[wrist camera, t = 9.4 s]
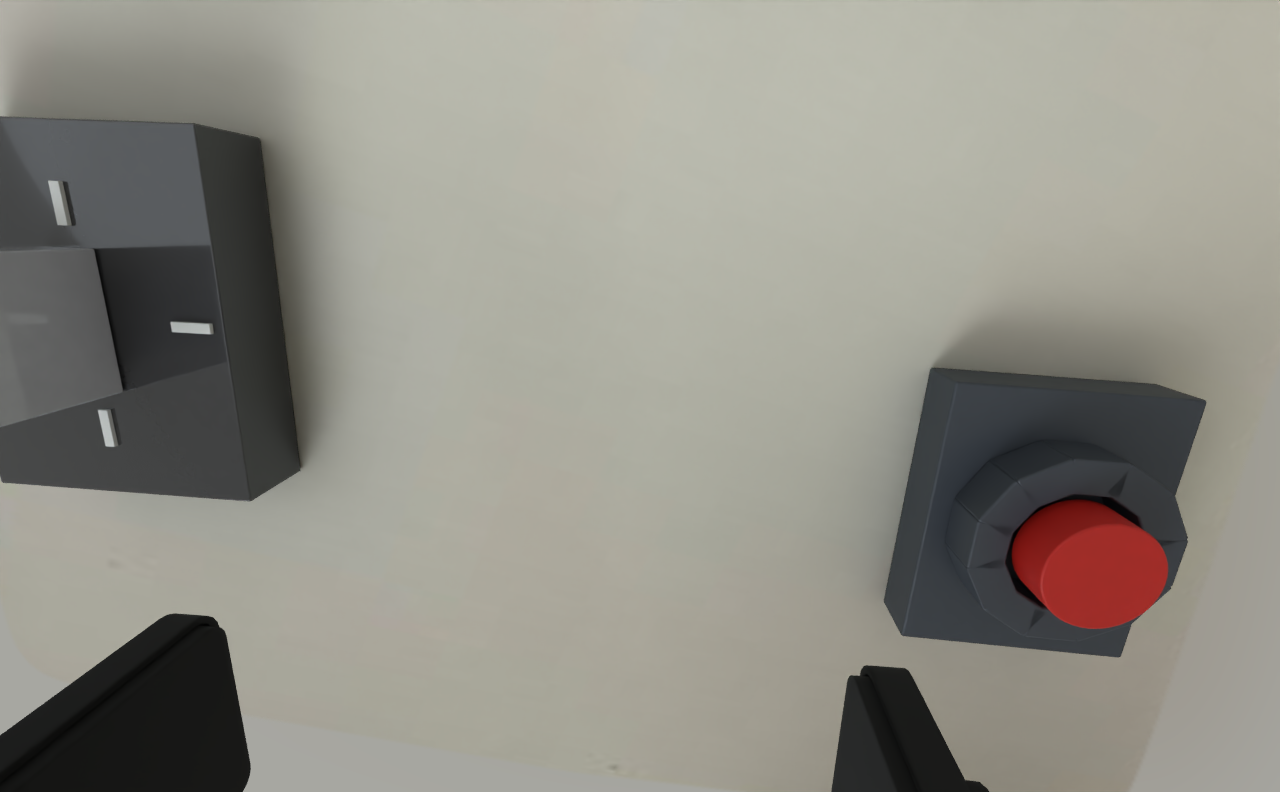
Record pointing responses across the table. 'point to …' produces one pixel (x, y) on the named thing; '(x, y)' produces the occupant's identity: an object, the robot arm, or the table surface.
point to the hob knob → (52, 332)
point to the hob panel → (158, 307)
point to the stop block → (1028, 496)
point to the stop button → (1089, 564)
